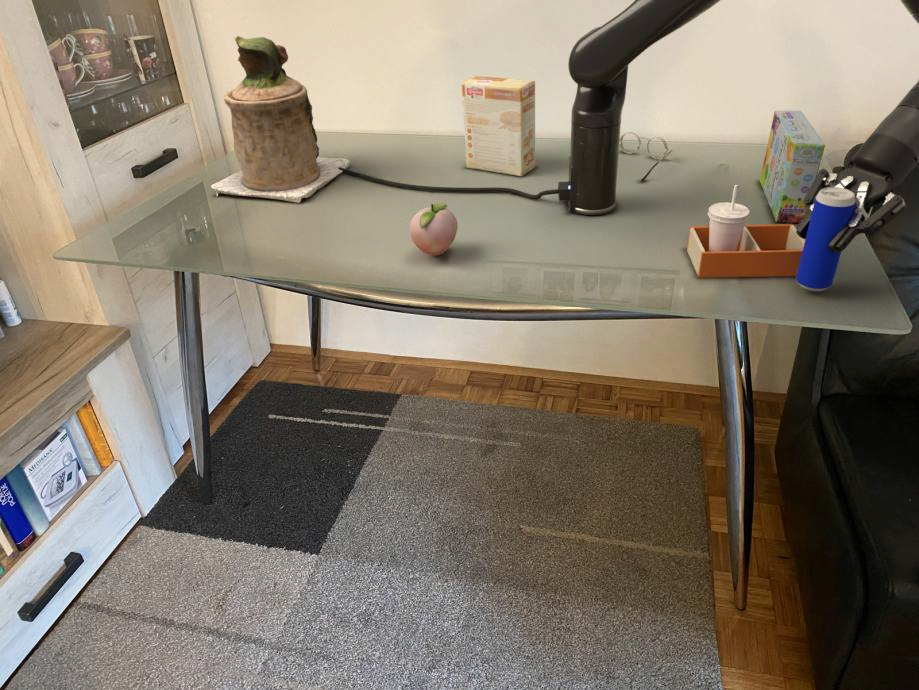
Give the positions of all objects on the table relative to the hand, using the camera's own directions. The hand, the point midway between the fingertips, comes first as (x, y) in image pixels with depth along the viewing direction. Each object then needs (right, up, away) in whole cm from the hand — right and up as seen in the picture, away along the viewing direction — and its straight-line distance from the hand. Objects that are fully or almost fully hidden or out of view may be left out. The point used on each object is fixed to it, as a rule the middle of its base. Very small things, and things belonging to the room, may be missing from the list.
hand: (816, 242), depth 102 cm
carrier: (-5, -1, +14) cm, 15 cm away
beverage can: (+2, -6, +5) cm, 8 cm away
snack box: (+11, +13, +34) cm, 38 cm away
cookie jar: (-95, +23, +60) cm, 114 cm away
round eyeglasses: (-15, +26, +55) cm, 63 cm away
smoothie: (-9, -1, +15) cm, 17 cm away
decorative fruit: (-58, +1, +24) cm, 62 cm away
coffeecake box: (-43, +26, +59) cm, 78 cm away
